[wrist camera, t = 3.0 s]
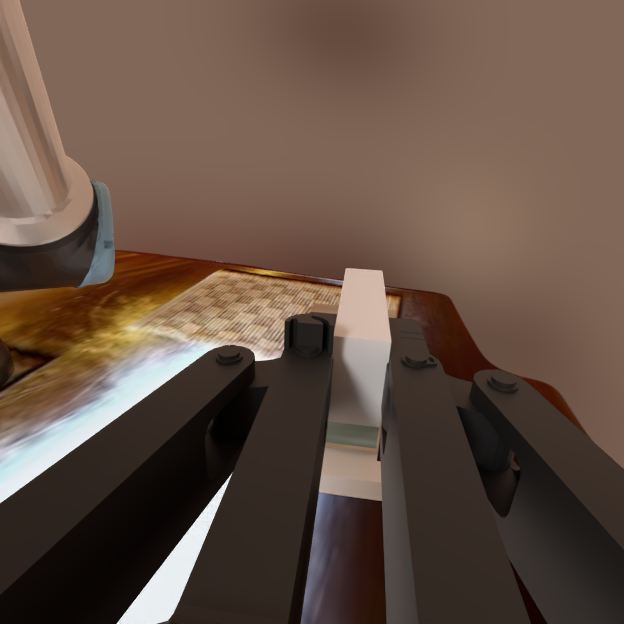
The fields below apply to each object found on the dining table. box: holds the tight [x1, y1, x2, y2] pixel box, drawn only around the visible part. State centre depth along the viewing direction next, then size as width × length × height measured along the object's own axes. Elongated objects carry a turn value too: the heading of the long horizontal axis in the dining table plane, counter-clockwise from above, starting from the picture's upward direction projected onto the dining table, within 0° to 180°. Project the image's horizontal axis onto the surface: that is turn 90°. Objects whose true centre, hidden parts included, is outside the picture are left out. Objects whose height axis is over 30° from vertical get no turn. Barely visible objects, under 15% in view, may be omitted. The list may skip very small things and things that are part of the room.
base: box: [319, 447, 382, 501], centre depth 39 cm, size 14×12×2 cm
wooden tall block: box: [311, 303, 396, 453], centre depth 34 cm, size 5×7×12 cm, turn 82°
